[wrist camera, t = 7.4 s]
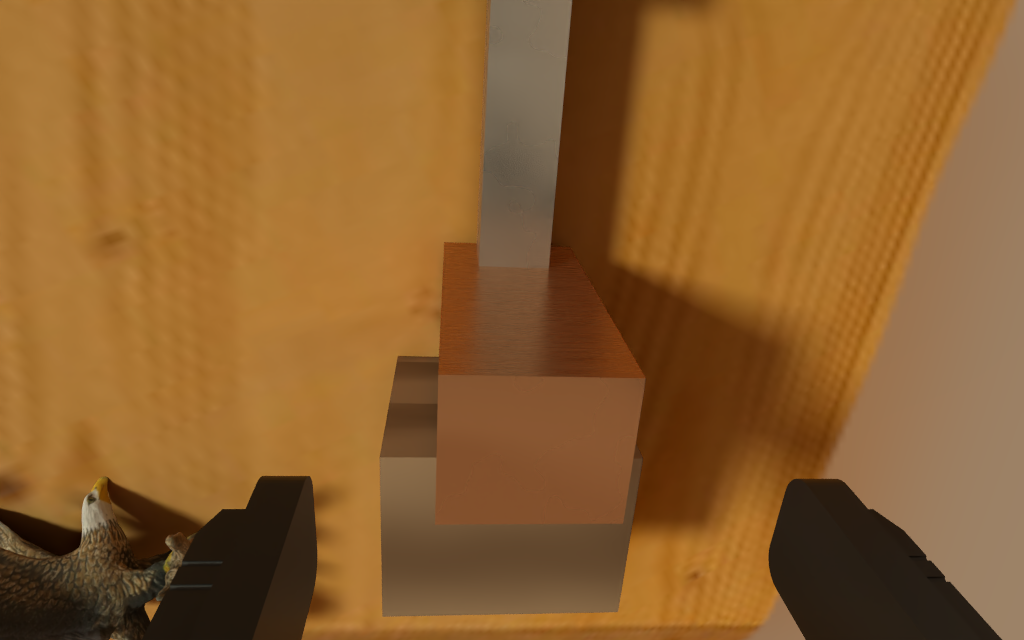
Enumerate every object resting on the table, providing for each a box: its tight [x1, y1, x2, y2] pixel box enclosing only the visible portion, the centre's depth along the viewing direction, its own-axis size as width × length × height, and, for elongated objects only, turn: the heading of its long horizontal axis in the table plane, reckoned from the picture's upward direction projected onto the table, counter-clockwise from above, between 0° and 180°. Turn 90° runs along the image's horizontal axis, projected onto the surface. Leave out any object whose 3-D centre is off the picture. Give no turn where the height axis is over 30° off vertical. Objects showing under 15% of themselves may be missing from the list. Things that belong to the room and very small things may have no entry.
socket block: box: [380, 356, 643, 617], centre depth 21 cm, size 6×7×6 cm
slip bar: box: [435, 0, 646, 525], centre depth 16 cm, size 18×4×9 cm, turn 177°
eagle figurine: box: [0, 477, 197, 640], centre depth 22 cm, size 8×7×9 cm
